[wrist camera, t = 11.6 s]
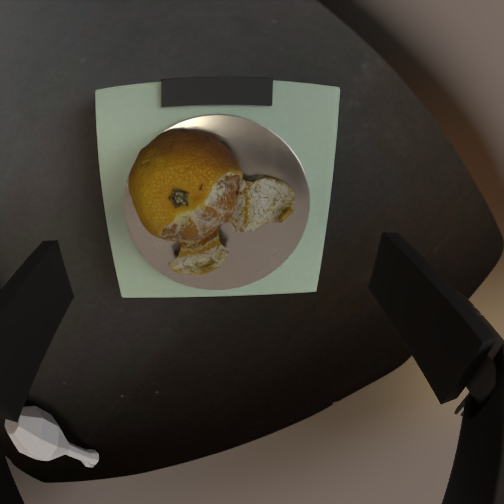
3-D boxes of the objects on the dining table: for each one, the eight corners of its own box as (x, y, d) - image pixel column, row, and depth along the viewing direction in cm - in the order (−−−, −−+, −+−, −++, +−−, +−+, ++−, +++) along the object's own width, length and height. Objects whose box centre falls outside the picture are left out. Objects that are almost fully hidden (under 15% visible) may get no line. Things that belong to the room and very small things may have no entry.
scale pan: (118, 120, 15) (115, 120, 14) (314, 117, 16) (317, 118, 15) (138, 286, 20) (137, 291, 19) (298, 282, 21) (300, 286, 21)
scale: (111, 89, 16) (92, 88, 13) (323, 86, 18) (342, 85, 15) (130, 275, 23) (120, 300, 20) (306, 270, 24) (317, 294, 22)
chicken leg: (75, 448, 39) (87, 487, 33) (-3, 408, 27) (0, 455, 21) (105, 431, 41) (120, 471, 35) (26, 385, 29) (31, 435, 23)
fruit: (197, 283, 19) (194, 320, 16) (101, 191, 16) (77, 214, 13) (302, 202, 18) (322, 228, 14) (209, 89, 14) (208, 86, 11)
